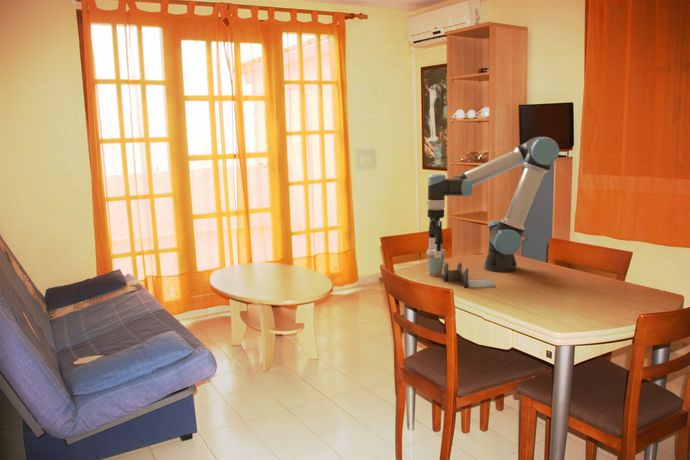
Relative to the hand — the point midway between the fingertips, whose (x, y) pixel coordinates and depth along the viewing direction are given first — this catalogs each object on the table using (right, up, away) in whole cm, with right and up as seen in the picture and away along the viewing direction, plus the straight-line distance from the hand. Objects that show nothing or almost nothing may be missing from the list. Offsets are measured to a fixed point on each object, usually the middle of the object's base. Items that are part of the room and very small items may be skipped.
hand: (434, 254), depth 273 cm
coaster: (+17, -12, -16) cm, 26 cm away
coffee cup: (+1, -10, +2) cm, 10 cm away
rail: (+7, -12, -15) cm, 21 cm away
